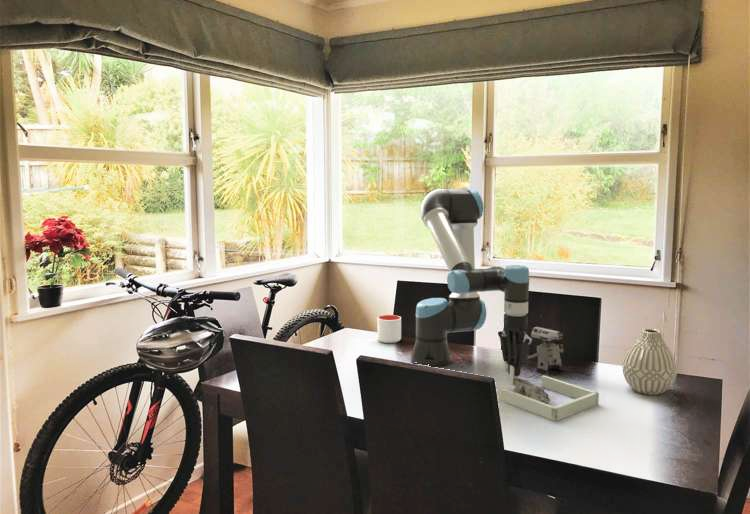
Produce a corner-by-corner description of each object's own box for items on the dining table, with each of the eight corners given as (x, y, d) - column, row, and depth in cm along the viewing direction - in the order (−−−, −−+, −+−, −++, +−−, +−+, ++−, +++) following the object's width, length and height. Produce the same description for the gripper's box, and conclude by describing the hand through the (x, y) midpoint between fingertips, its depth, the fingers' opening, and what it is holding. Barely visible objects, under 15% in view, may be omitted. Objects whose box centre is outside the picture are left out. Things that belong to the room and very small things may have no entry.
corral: (500, 400, 188) (500, 388, 187) (543, 385, 200) (543, 375, 200) (554, 421, 171) (555, 409, 171) (598, 404, 184) (598, 392, 184)
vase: (613, 391, 195) (616, 331, 193) (631, 378, 207) (635, 322, 204) (665, 403, 184) (669, 340, 182) (681, 390, 196) (685, 330, 193)
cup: (375, 343, 252) (375, 319, 250) (379, 337, 262) (379, 314, 260) (399, 344, 250) (399, 320, 249) (402, 337, 260) (402, 315, 259)
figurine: (539, 363, 225) (540, 323, 223) (565, 370, 215) (567, 330, 213) (523, 367, 219) (524, 327, 217) (549, 375, 210) (550, 334, 208)
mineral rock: (553, 405, 183) (554, 391, 182) (528, 407, 182) (529, 392, 181) (534, 389, 197) (535, 376, 197) (511, 390, 196) (511, 377, 196)
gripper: (492, 311, 196) (491, 381, 200) (524, 319, 186) (522, 392, 189) (508, 308, 201) (506, 376, 204) (539, 315, 190) (537, 387, 194)
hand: (513, 384), depth 197 cm, fingers closed
